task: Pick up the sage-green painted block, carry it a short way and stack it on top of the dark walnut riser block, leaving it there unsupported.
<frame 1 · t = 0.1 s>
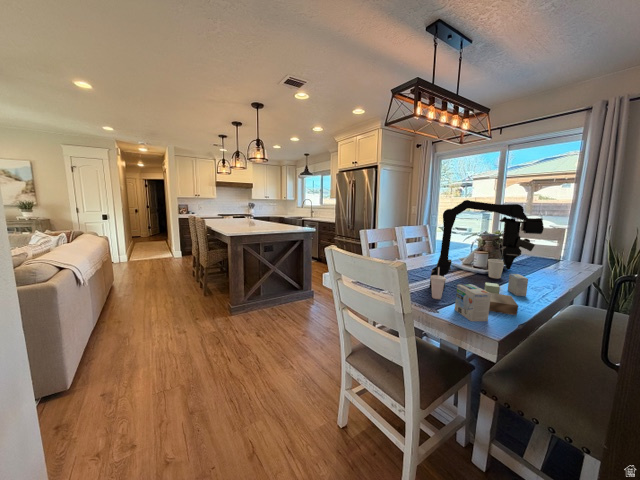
hand: (506, 267, 116), 14 cm above the table, fingers open, 9 cm apart
light bulb box: (470, 315, 99), on the table
medicine box: (516, 293, 125), on the table
walnut riser block: (495, 307, 107), on the table
smoothie: (436, 298, 117), on the table
sage block: (490, 297, 119), on the table
dixie cup: (494, 277, 152), on the table
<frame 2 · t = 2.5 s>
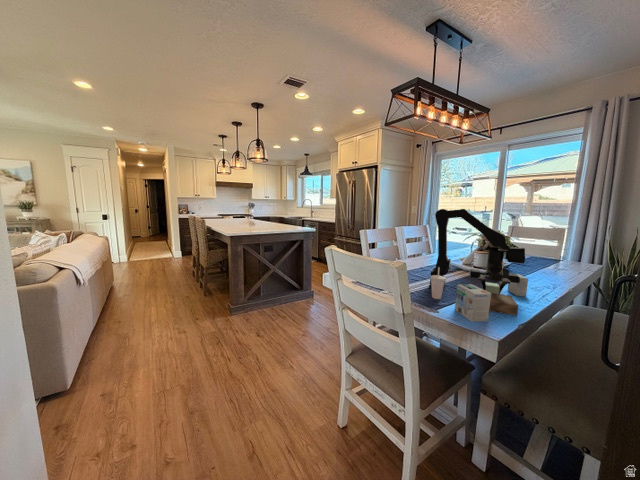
hand: (491, 293, 119), 2 cm above the table, fingers closed on sage block, 5 cm apart
sage block: (490, 297, 119), on the table, touching gripper
everything else where it was.
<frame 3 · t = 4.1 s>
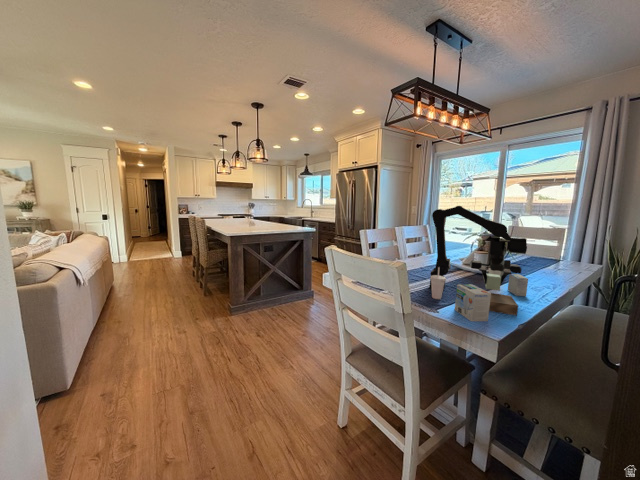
hand: (492, 284, 118), 6 cm above the table, fingers closed on sage block, 5 cm apart
sage block: (492, 288, 118), point 4 cm above the table, touching gripper
everything else where it was.
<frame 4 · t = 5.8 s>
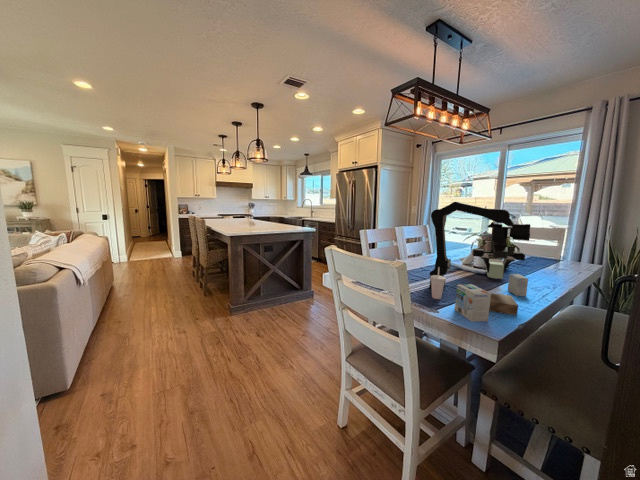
hand: (495, 273, 115), 12 cm above the table, fingers closed on sage block, 5 cm apart
sage block: (494, 276, 115), point 10 cm above the table, touching gripper
everything else where it was.
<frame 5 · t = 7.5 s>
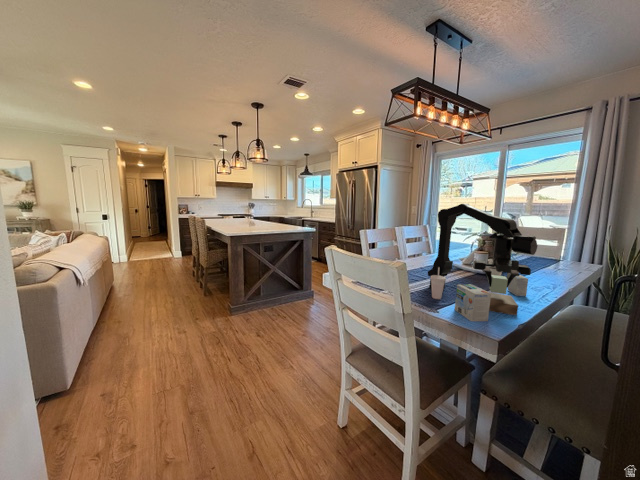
hand: (497, 287, 106), 8 cm above the table, fingers closed on sage block, 5 cm apart
sage block: (497, 291, 106), point 7 cm above the table, touching gripper
everything else where it was.
when the fingers open (7 cm above the table, at t = 8.9 s): sage block drops 1 cm, resting on walnut riser block.
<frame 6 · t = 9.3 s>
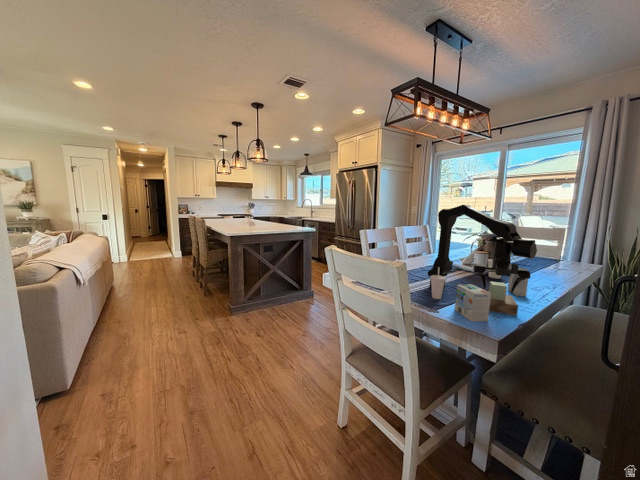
hand: (497, 290, 106), 7 cm above the table, fingers open, 9 cm apart
sage block: (496, 297, 107), point 4 cm above the table, touching walnut riser block
everything else where it was.
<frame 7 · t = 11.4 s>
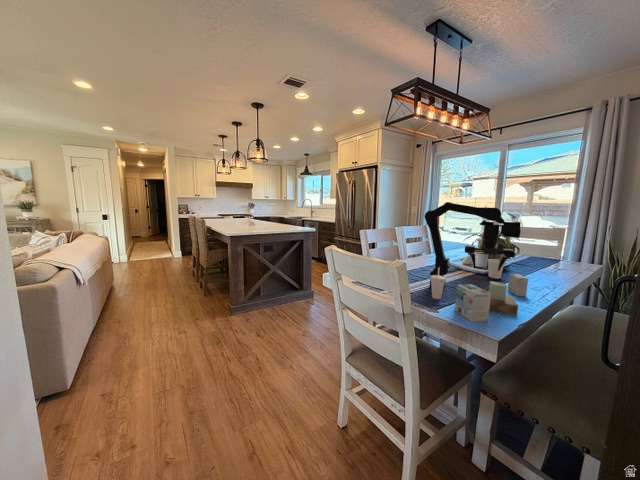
hand: (486, 269, 118), 13 cm above the table, fingers open, 9 cm apart
nothing on the table moved.
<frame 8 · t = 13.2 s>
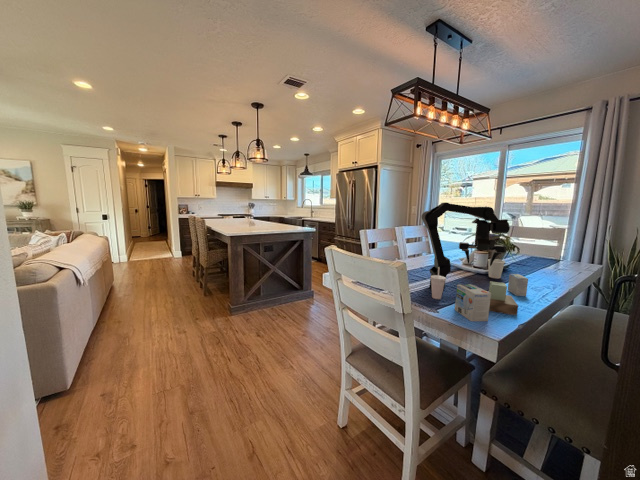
hand: (479, 264, 126), 13 cm above the table, fingers open, 9 cm apart
nothing on the table moved.
at the end: sage block inside the target area on the walnut riser block (0.1 cm from its centre), point 4.0 cm above the walnut riser block's base; sage block tilted 0°; the gripper is holding nothing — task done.
